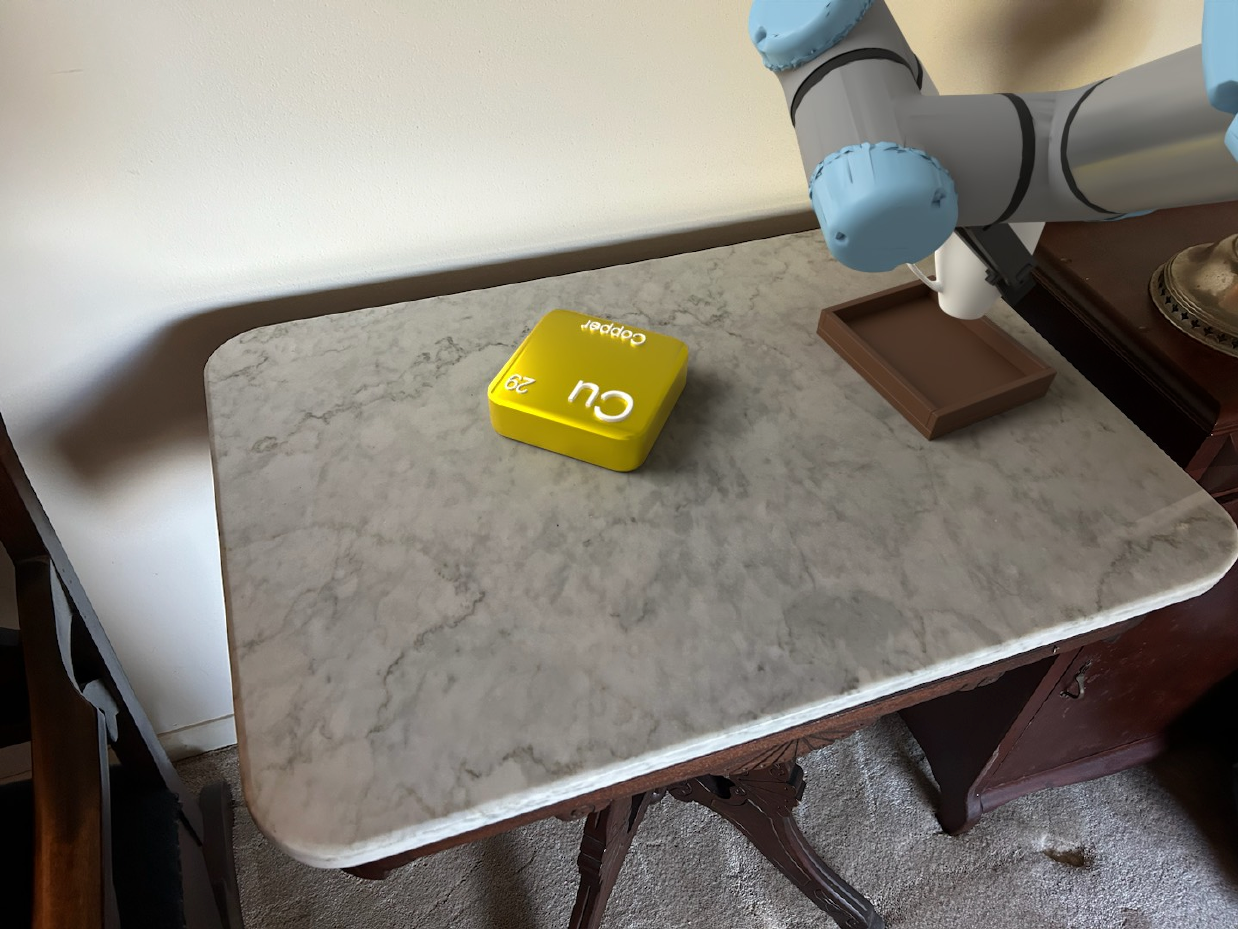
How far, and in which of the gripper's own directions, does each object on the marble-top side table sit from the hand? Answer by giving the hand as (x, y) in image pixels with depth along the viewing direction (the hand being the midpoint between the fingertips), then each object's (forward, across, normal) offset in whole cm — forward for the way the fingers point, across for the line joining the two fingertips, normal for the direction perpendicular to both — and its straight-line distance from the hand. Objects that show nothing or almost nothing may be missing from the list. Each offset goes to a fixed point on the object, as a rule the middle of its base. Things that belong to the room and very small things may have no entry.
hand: (985, 267), depth 78 cm
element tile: (-18, -9, -33) cm, 39 cm away
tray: (+5, 0, -10) cm, 11 cm away
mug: (0, 0, -5) cm, 5 cm away
